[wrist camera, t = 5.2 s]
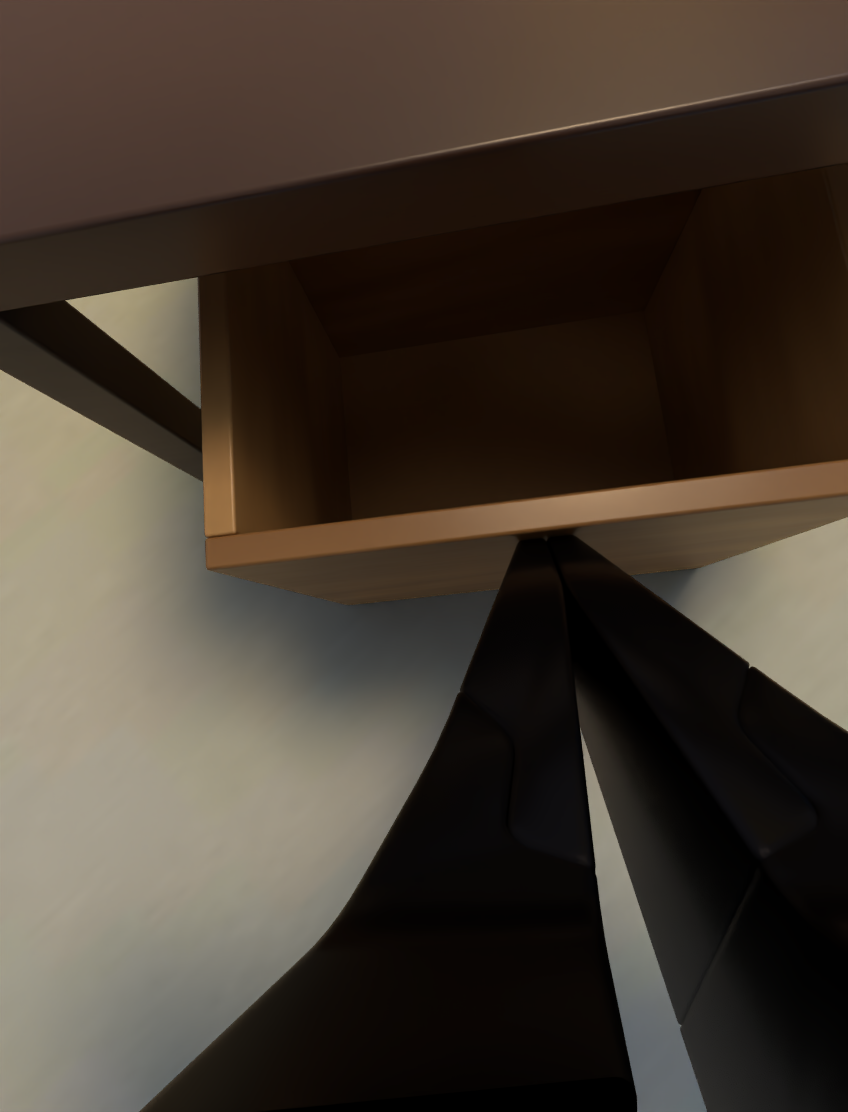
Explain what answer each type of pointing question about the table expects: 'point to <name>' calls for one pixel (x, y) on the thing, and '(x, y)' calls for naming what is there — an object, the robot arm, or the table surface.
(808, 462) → the wooden box
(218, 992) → the table surface
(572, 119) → the desk shelf
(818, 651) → the table surface
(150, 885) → the table surface
